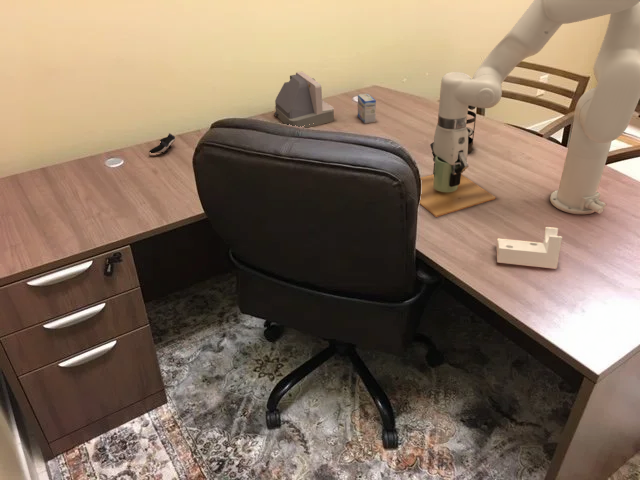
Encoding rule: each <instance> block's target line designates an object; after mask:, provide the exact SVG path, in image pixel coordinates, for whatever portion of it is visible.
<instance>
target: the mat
mask: <svg viewBox="0 0 640 480" xmlns="http://www.w3.org/2000/svg"><path fill="white" fill-rule="evenodd" d="M420 178H421V180H422V194H421V200H420V204H419V205H420V206H421V207H422V208H424V209H425V210H426V211H428V212H429V213H430V214H431V215H432V216H434V217H435V218H438V217H442V216H445V215H448V214H452V213H454V212H455V213H456V212H457V211H460V210H464V209H468V208H470V207H473V206H477V205H481V204H484V203H488V202H490V201H494V200H496V198H497V197H496V196H495V195H493V194H492V193H491V192H489V191H487V190H486V189H484V188H483V187H481V186H479V185H478V184H477V183H475V182H473V181H472V180H470V179H469V178H468V177H466V176H465V175H463V174H461V179H460V184H459V185H458V189H457V190H455V191H453V192H441V191H438V190H436V189H435V188H434V187H433V179H434V175H433V173H432V174H428V175H425V176H422V177H420Z"/></svg>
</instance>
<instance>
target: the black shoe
mask: <svg viewBox="0 0 640 480" xmlns="http://www.w3.org/2000/svg"><path fill="white" fill-rule="evenodd" d="M176 139H177V138H176V136H175V135H173V134H172V133H170V132H168V135H167V136H166V137H162V138H161V139H159V141H161V143H160V144H159V145H157V146H154V147H152V148H151V149H150V150H149V151H148V153H149V152H151V153H161V152H163V153H161V154H166V153H167V152H168V150H170V149H171V148H172V145H173V144H174V143H175V141H176ZM170 145H171V146H170ZM169 146H170V147H169ZM148 155H149V154H148ZM159 155H160V154H156V155H149V157H156V156H159Z"/></svg>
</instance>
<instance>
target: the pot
mask: <svg viewBox="0 0 640 480" xmlns="http://www.w3.org/2000/svg"><path fill="white" fill-rule="evenodd" d="M456 162H458V161H456ZM456 162H455V163H456ZM455 168H456V169H457V168H458V164H457V165H455ZM433 170H434V179H433V187H434V188H435V189H436V190H438V191H441V192H453V191H455V190H457V189H458V185H457V186H453V187H450V186H449V183H450V174H452V169H451V164H449V163H447V162H446V161H444V160H442V159H441V158H439V157H438V156H437V155H436V157H435V167H434V166H433Z"/></svg>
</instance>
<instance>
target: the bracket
mask: <svg viewBox="0 0 640 480" xmlns="http://www.w3.org/2000/svg"><path fill="white" fill-rule="evenodd" d="M544 229H545V230H544V235H543V240H542V242H539V241H529V240H519V239H511V238H510V239H509V238H499V237H498V238H497V241H496V247H495V249H496V263H500V264H507V265H518V266H527V267H534V268H535V267H536V268H546V269H553V270H554V269H555V270H557V269H558V264H559V257H560V253H561V248H562V243H563V236H562V235H558V232H559V228H558V227H552V226H551V227H550V226H545V228H544Z"/></svg>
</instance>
